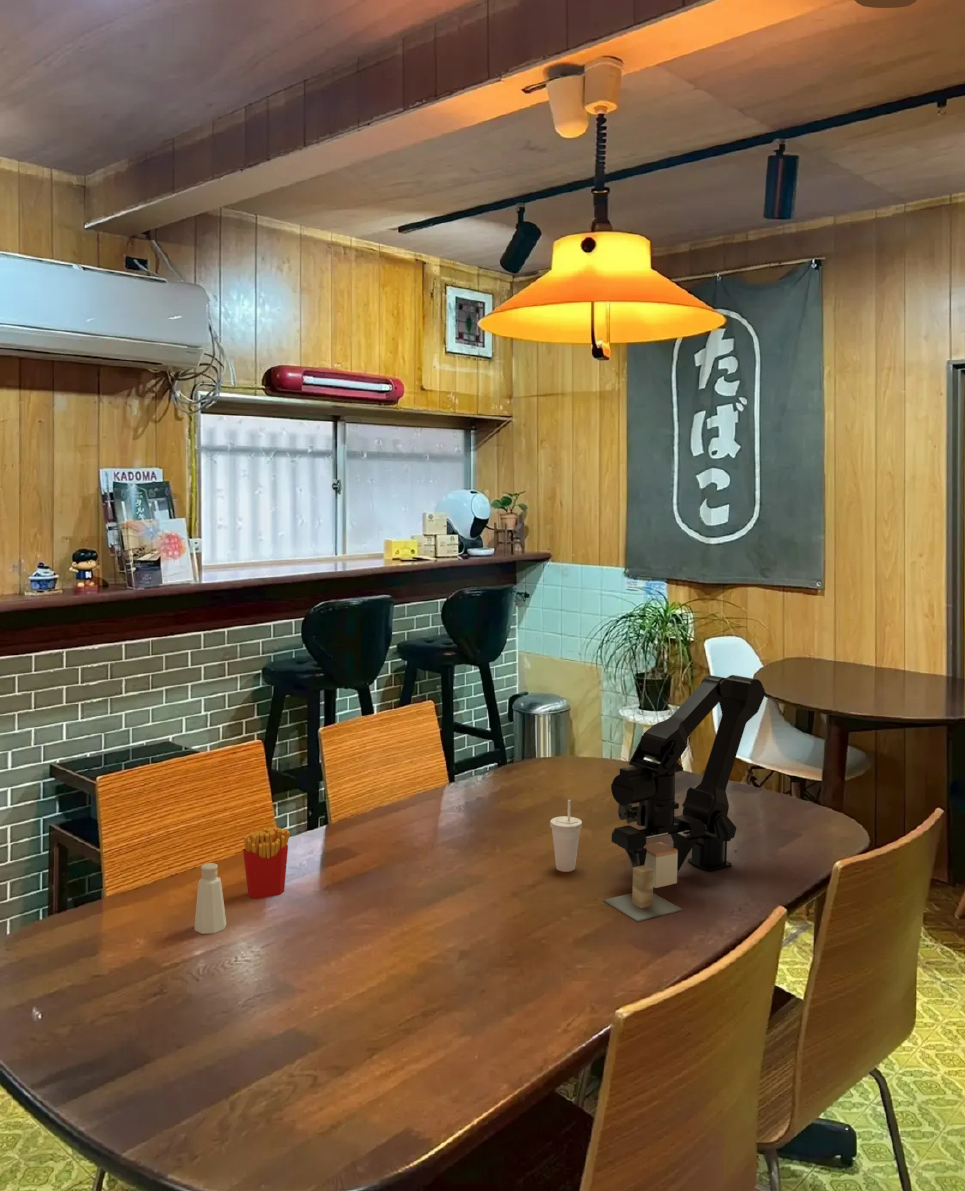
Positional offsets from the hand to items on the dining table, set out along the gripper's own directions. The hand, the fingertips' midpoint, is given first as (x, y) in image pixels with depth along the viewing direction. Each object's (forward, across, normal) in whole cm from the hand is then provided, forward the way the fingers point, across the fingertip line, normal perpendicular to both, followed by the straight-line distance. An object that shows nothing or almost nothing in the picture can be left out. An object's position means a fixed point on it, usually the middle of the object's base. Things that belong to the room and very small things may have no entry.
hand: (657, 874), depth 191 cm
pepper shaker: (+2, +81, -20) cm, 83 cm away
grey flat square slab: (+1, +10, +8) cm, 13 cm away
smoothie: (+2, +12, -14) cm, 18 cm away
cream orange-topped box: (+1, 0, 0) cm, 1 cm away
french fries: (+2, +68, -30) cm, 74 cm away
